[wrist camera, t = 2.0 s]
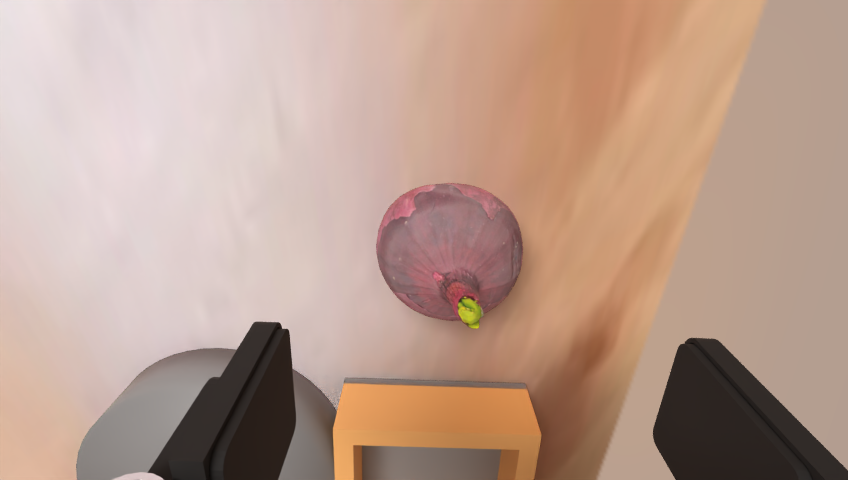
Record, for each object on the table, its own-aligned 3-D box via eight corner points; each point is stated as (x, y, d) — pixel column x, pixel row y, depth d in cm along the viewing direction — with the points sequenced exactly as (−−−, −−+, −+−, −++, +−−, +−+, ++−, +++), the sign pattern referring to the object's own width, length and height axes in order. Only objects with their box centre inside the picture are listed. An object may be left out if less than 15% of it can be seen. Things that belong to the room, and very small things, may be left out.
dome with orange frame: (503, 530, 32) (514, 593, 28) (139, 521, 31) (100, 584, 27) (528, 358, 27) (546, 407, 23) (94, 344, 26) (39, 392, 22)
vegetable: (511, 266, 24) (567, 395, 15) (396, 284, 25) (382, 420, 16) (499, 152, 22) (555, 221, 13) (373, 174, 23) (340, 255, 13)
